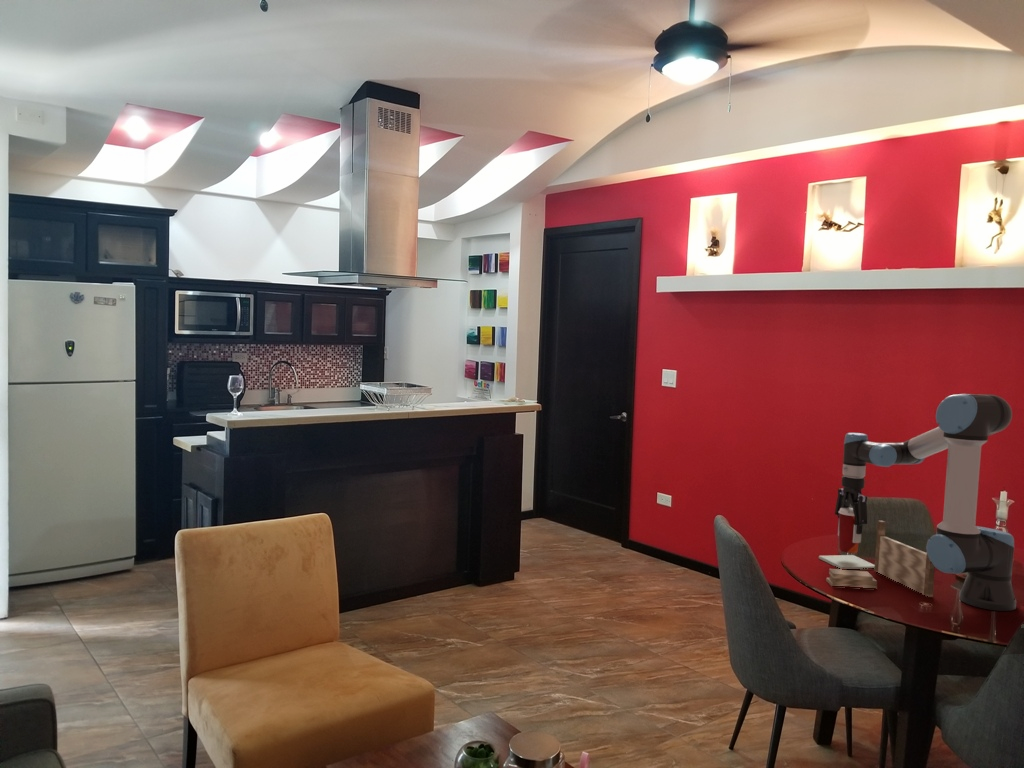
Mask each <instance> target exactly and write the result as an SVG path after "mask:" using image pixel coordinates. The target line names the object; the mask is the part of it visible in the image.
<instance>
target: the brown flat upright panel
mask: <svg viewBox="0 0 1024 768" xmlns="http://www.w3.org/2000/svg"><path fill="white" fill-rule="evenodd" d="M886 524H887V523H886V521H884V520H877V526H876V528H877V529H876V541H875V542H876V543H875V556H874V565H875V568H874V569H873V572H874V571H876V572H878V573H880V574H882V575H884V576H886V577H885V578H887V577H888V578H887V579H889V578H890V579H889V580H891V579H892V580H891V581H893V580H894V581H893V582H895V581H896V582H895V583H897V582H899V583H901V584H903V585H902V586H904V585H905V586H904V587H906V586H907V587H906V588H908V587H909V588H908V589H910V588H911V589H910V590H912V589H913V590H912V591H914V590H915V591H914V592H916V591H917V592H916V593H918V592H919V594H920V593H922V594H921V595H923V596H924V595H925V596H924V597H927V596H928V597H927V598H933V597H934V582H935V571H936V567H935V566H934V565H933V563H932V562H931V561H930V559H929V557H928V554H927V551H926V552H925V551H923V550H920V549H918V548H915V547H912V546H911V545H908V544H906V543H903V542H900V541H898V540H896V539H893V538H890V537H888V536H886V526H887V525H886ZM929 539H930V538H928V539H927V541H928V540H929ZM876 572H875V573H876ZM878 573H877V574H878ZM880 574H879V575H880ZM882 575H881V576H882ZM884 576H883V577H884ZM899 583H898V584H899ZM901 584H900V585H901Z"/></svg>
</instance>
